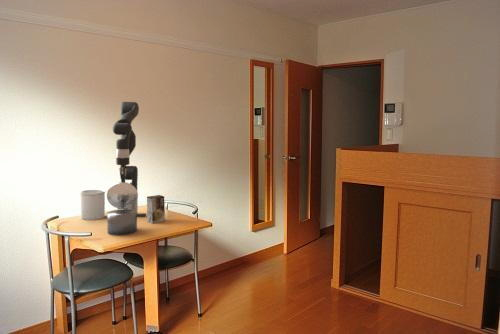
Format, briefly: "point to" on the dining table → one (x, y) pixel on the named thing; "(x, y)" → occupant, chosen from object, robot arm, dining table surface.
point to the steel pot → (122, 221)
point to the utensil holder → (92, 204)
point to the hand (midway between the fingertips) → (123, 185)
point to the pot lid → (122, 195)
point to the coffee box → (155, 209)
